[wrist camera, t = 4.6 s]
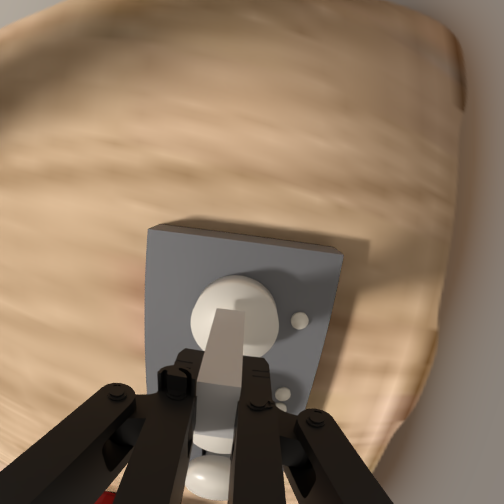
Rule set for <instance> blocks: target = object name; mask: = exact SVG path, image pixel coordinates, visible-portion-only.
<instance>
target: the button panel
mask: <svg viewBox="0 0 504 504" xmlns="http://www.w3.org/2000/svg"><path fill="white" fill-rule="evenodd" d="M343 257H344V255H343V254H342V253H341V252H339V251H338V250H337V249H336V248H334V247H330V246H323V245H316V244H309V243H301V242H294V241H287V240H280V239H272V238H265V237H258V236H250V235H243V234H235V233H227V232H220V231H212V230H204V229H196V228H188V227H180V226H172V225H164V224H159V225H156V226H154V227H152V228H149V229H148V235H147V251H146V272H145V363H146V383H147V394H153V393H157V391H158V378H157V372H158V371H159V370H160V369H161V368H163V367H165V366H170V365H174V363H175V361H176V358H177V355H178V353H179V352H181V351H182V350H183V349H185V348H188V349H194V350H201V351H203V350H202V349H201V348H200V346H199V345H198V344H197V342H196V341H195V339H194V337H193V334H192V330H191V315H192V311H193V309H194V307H195V304H196V302H197V300H198V298H199V296H200V294H201V293H202V291H203V290H204V289H205V288H206V287H207V286H208V285H209V284H210V283H211V282H213V281H215V280H217V279H219V278H222V277H225V276H230V275H240V276H246V277H249V278H252V279H254V280H256V281H258V282H260V283H261V284H262V285H264V286H265V287H266V288H267V289H268V290H269V292H270V293H271V295H272V296H273V298H274V301H275V304H276V308H277V314H278V320H279V331H278V335H277V338H276V340H275V342H274V344H273V346H272V347H271V348H270V349H269V351H267V352H266V353H265V354H264V355H263V356H261V357H262V358H265V360H266V361H267V362H268V364H269V369H270V380H271V390H272V400H273V401H274V402H275V404H276V406H277V407H278V408H279V409H281V410H282V411H284V412H287V413H290V414H294V415H298V414H299V413H300V412H302V411H303V410H305V408H306V404H307V401H308V398H309V395H310V391H311V388H312V385H313V381H314V378H315V374H316V371H317V367H318V364H319V360H320V356H321V353H322V349H323V345H324V341H325V337H326V333H327V329H328V325H329V321H330V317H331V313H332V308H333V304H334V300H335V295H336V291H337V286H338V281H339V277H340V272H341V267H342V262H343ZM206 451H207V450H204V449H202V448H200V447H198V446H197V445H195V444H194V443H193V446H192V451H191V456H190V461H191V460H193V459H194V458H196V457H199V456H205V455H206ZM190 461H189V462H190ZM283 471H284V469H283Z"/></svg>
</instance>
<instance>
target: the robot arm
mask: <svg viewBox="0 0 504 504" xmlns="http://www.w3.org/2000/svg"><path fill="white" fill-rule="evenodd" d="M244 323H245V311H237V310H229V309H222V308H217V309H216V312H215V316H214V320H213V323H212V327H211V330H210V334H209V338H208V341H207V345H206V349H205V351H201V350H194V349H188V348H185V349H183V350H182V351H181V352H179V353H178V355H177V358H176V361H175V363H174V365H170V366H165V367H163V368H161V369H160V370H159V371H158V372H157V378H158V391H157V393H153V394H146V395H136V394H135V392H134V390H133V389H132V388H131V387H129V386H128V385H125V384H122V383H111V384H107V385H105V386H104V387H102V388H101V389H100V390H98V391H97V392H96V393H95V394H94V395H92V396H91V397H90V398H89V399H88V400H86V401H85V402H84V403H83V404H82V405H80V406H79V407H78V408H77V409H76V410H74V411H73V412H72V413H71V414H70V415H68V416H67V417H66V418H65V419H64V420H62V421H61V422H60V423H59V424H58V425H56V426H55V427H54V428H53V429H52V430H50V431H49V432H48V433H47V434H46V435H44V436H43V437H42V438H41V439H40V440H38V441H37V442H36V443H35V444H33V445H32V446H31V447H30V448H29V449H27V450H26V451H25V452H24V453H23V454H21V455H20V456H19V457H18V458H16V459H15V460H14V461H13V462H12V463H10V464H9V465H8V466H7V467H5V468H4V469H3V470H2V471H1V472H0V504H94V503H95V502H96V501H97V500H98V498H99V497H100V496H101V495H102V494H103V492H104V491H105V490H106V489H107V488H108V486H109V485H110V484H111V483H112V482H113V480H114V479H115V478H116V477H117V476H118V474H119V473H120V472H121V471H122V469H123V468H124V467H125V466H126V465H127V463H128V465H127V467H126V470H125V472H124V475H123V477H122V480H121V482H120V485H119V488H118V490H117V493H116V495H115V498H114V501H113V503H112V504H181V501H182V496H183V491H184V486H185V481H186V476H187V471H188V466H189V461H190V456H191V451H192V446H193V434H199V435H205V436H212V437H220V438H228V439H233V443H232V449H231V455H230V460H231V463H230V477H229V490H228V504H286V498H285V487H284V477H283V469H284V472H285V474H286V476H287V478H288V481H289V483H290V485H291V487H292V490H293V492H294V494H295V496H296V498H297V501H298V503H299V504H393V502H392V501H391V500H390V498H389V497H388V496H387V494H386V493H385V491H384V490H383V488H382V487H381V486H380V484H379V483H378V481H377V480H376V479H375V478H374V476H373V475H372V473H371V472H370V470H369V469H368V467H367V466H366V465H365V463H364V462H363V460H362V459H361V458H360V456H359V455H358V453H357V452H356V450H355V449H354V448H353V446H352V445H351V443H350V442H349V440H348V439H347V438H346V436H345V435H344V433H343V432H342V430H341V429H340V427H339V426H338V425H337V423H336V422H335V420H334V419H333V417H332V416H331V415H330V414H329V413H327V412H325V411H323V410H319V409H306V410H303V411H302V412H300V413H299V414H298V415H294V414H290V413H287V412H284V411H282V410H281V409H279V408H278V407H277V406H276V404H275V402H274V401H273V400H272V390H271V380H270V369H269V364H268V362H267V361H266V360H265V358H262V357H252V356H243V343H244Z"/></svg>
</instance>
